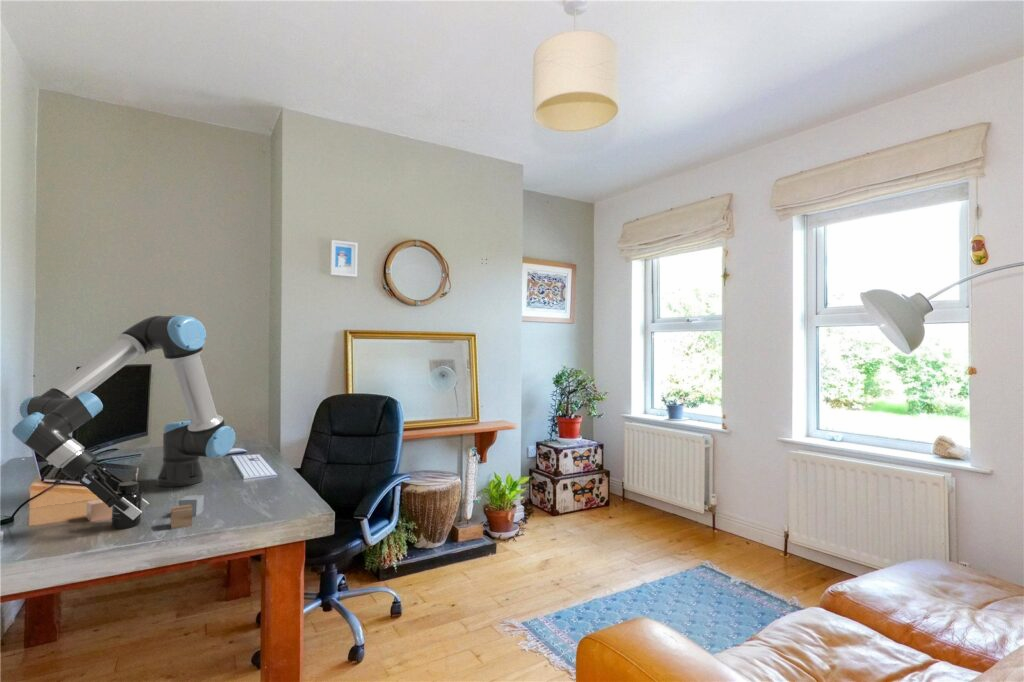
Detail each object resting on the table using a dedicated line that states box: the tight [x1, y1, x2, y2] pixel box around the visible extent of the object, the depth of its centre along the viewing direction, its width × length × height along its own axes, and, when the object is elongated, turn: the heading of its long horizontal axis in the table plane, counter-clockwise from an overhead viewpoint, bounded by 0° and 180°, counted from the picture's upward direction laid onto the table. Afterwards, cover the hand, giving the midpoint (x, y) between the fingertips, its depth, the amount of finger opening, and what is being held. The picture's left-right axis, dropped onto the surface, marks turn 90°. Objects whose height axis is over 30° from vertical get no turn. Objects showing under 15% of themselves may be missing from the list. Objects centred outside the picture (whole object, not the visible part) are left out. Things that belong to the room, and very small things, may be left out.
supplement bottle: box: [110, 481, 143, 530], centre depth 147 cm, size 7×7×12 cm
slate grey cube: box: [178, 494, 205, 517], centre depth 159 cm, size 5×5×5 cm
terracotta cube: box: [86, 498, 112, 522], centre depth 153 cm, size 5×5×5 cm
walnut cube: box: [170, 505, 193, 530], centre depth 148 cm, size 5×5×5 cm
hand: (141, 511), depth 148 cm, fingers open, 8 cm apart
